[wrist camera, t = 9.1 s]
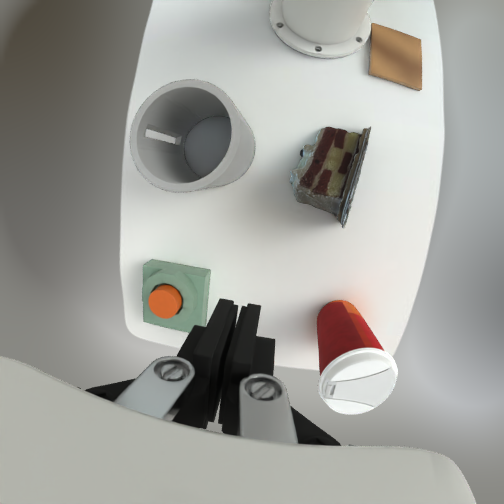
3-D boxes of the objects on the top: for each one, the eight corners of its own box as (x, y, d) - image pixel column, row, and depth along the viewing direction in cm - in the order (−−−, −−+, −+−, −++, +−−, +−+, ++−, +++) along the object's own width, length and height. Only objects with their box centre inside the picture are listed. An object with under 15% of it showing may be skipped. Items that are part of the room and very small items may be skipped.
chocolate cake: (314, 105, 30) (273, 162, 24) (373, 121, 28) (353, 185, 22) (310, 166, 38) (275, 230, 32) (360, 182, 35) (336, 251, 30)
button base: (151, 257, 36) (136, 267, 32) (210, 267, 36) (201, 280, 31) (151, 313, 38) (137, 328, 34) (205, 325, 38) (197, 342, 33)
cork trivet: (370, 25, 25) (372, 22, 25) (418, 41, 25) (421, 39, 24) (368, 74, 27) (370, 72, 27) (419, 91, 27) (421, 89, 26)
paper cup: (304, 342, 37) (312, 418, 24) (312, 290, 35) (327, 356, 22) (360, 344, 36) (387, 415, 23) (371, 293, 34) (412, 354, 21)
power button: (154, 281, 32) (148, 287, 31) (182, 287, 32) (177, 293, 30) (154, 308, 33) (148, 315, 32) (181, 315, 33) (176, 322, 31)
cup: (265, 172, 32) (256, 170, 20) (191, 196, 34) (147, 208, 22) (241, 100, 30) (220, 63, 18) (170, 126, 32) (119, 108, 20)
